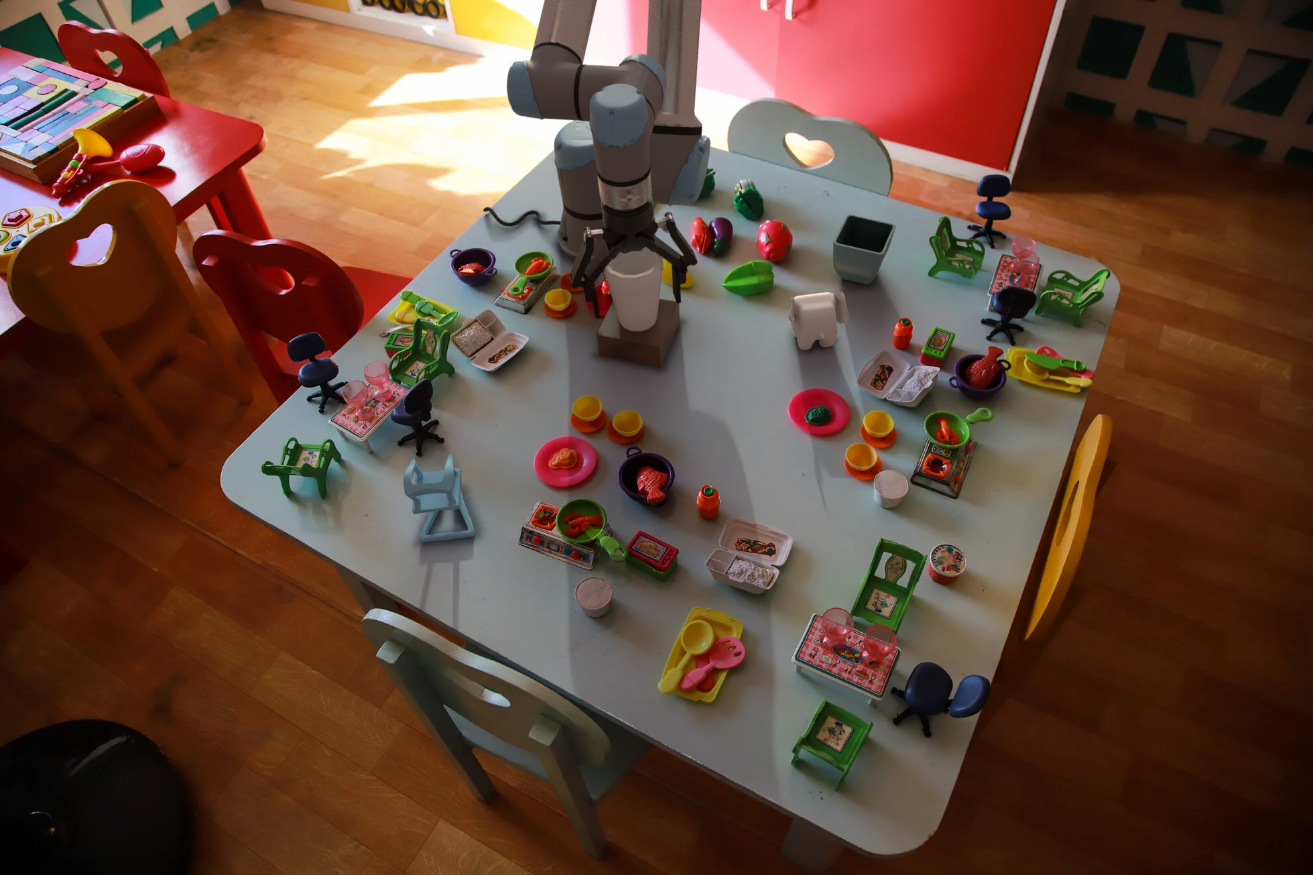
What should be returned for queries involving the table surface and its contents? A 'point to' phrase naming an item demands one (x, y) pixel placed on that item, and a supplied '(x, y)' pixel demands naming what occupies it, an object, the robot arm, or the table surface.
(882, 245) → the flower pot
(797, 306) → the elephant figurine
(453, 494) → the chair
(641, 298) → the foam cup
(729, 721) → the table surface
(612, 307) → the block
